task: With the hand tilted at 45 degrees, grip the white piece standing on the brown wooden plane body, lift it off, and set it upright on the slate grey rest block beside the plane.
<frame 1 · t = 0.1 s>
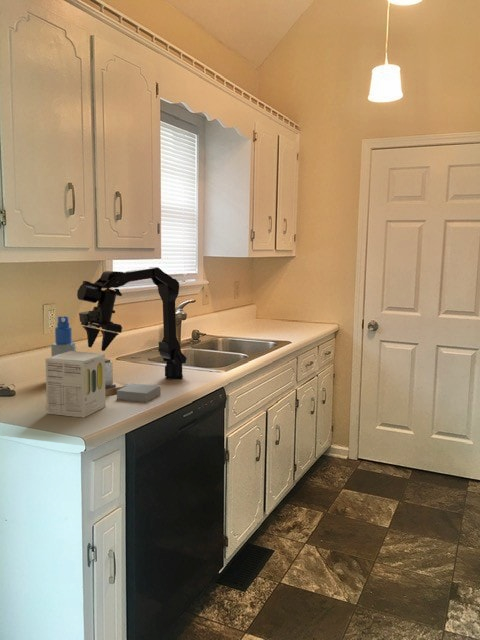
hand: (96, 349, 189), 15 cm above the countertop, tool pointing down, fingers open, 9 cm apart
supplement box: (77, 410, 168), on the countertop
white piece: (104, 384, 190), point 3 cm above the countertop, touching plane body
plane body: (109, 391, 191), on the countertop
spray bottle: (64, 381, 207), on the countertop
rest block: (139, 396, 185), on the countertop
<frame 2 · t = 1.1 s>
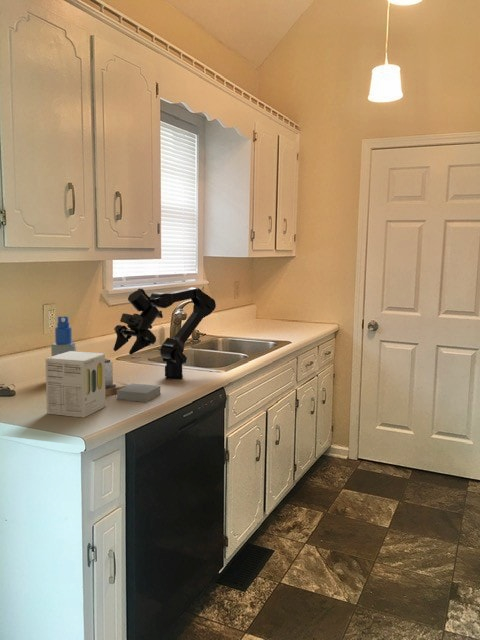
hand: (121, 352, 194), 14 cm above the countertop, tool tilted 45°, fingers open, 9 cm apart
nothing on the countertop moved.
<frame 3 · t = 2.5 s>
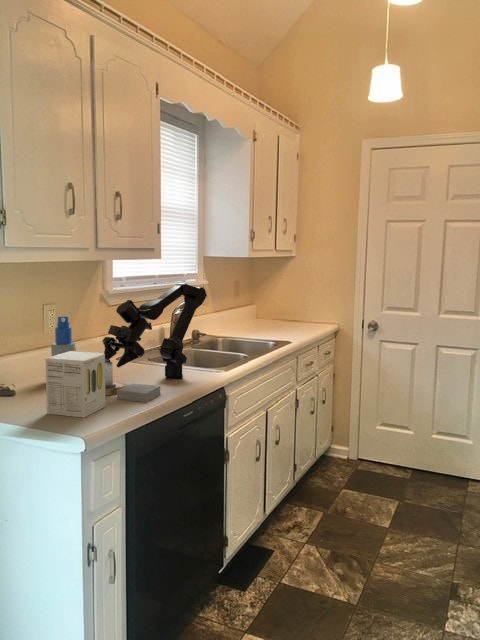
hand: (109, 364, 190), 10 cm above the countertop, tool tilted 45°, fingers open, 9 cm apart
nothing on the countertop moved.
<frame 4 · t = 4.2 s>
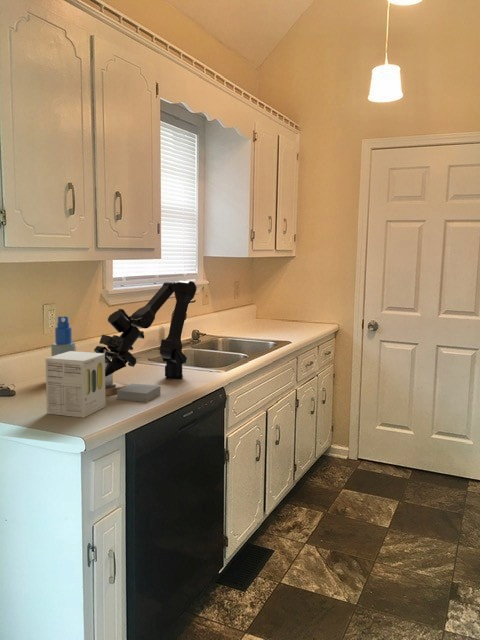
hand: (101, 374, 188), 7 cm above the countertop, tool tilted 45°, fingers closed on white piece, 4 cm apart
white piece: (104, 384, 190), point 3 cm above the countertop, touching gripper, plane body
everything else where it was.
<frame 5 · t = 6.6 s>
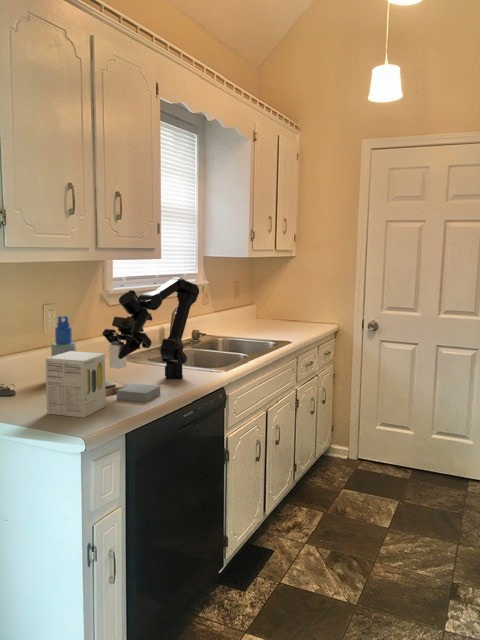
hand: (115, 357, 184), 13 cm above the countertop, tool tilted 45°, fingers closed on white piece, 4 cm apart
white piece: (118, 367, 186), point 10 cm above the countertop, touching gripper
everything else where it was.
when the fingers open (7 cm above the countertop, at t = 9.0 s): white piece stays where it is, resting on rest block.
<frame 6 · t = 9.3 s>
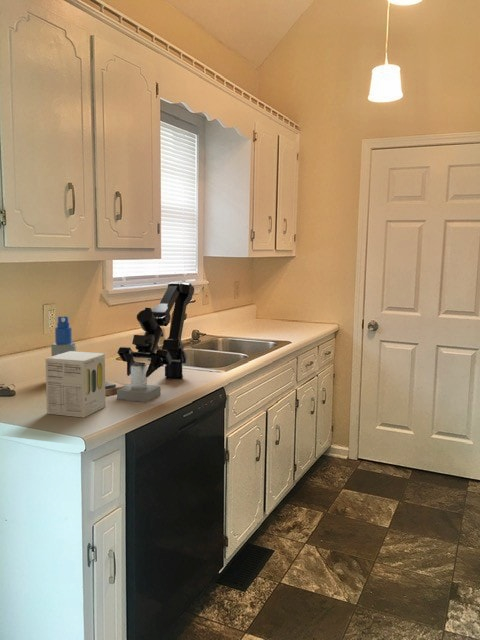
hand: (137, 376, 183), 8 cm above the countertop, tool tilted 45°, fingers open, 7 cm apart
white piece: (139, 388, 185), point 3 cm above the countertop, touching rest block
everything else where it was.
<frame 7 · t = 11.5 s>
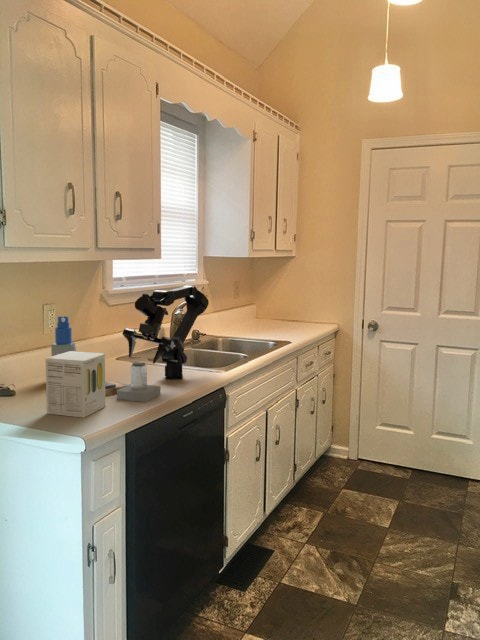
hand: (141, 360, 196), 10 cm above the countertop, tool tilted 30°, fingers open, 9 cm apart
nothing on the countertop moved.
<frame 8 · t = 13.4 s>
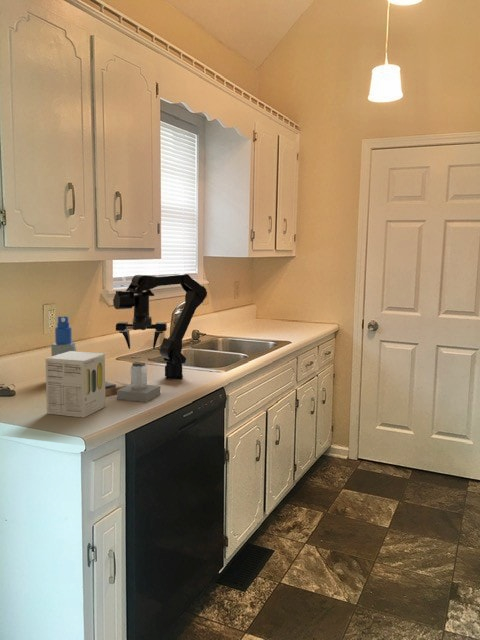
hand: (141, 348, 204), 13 cm above the countertop, tool pointing down, fingers open, 9 cm apart
nothing on the countertop moved.
at the end: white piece inside the target area on the rest block (0.0 cm from its centre), point 3.0 cm above the rest block's base; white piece tilted 0°; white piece touching rest block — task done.
